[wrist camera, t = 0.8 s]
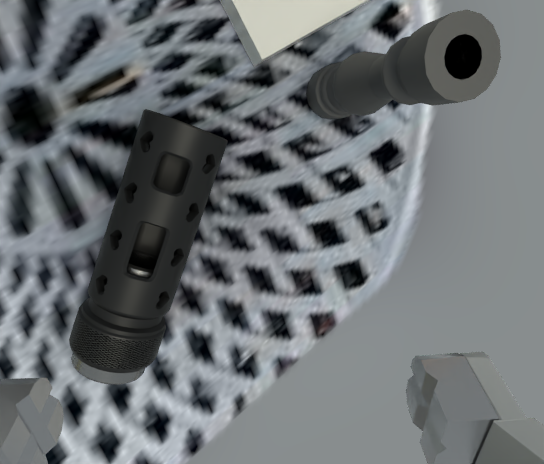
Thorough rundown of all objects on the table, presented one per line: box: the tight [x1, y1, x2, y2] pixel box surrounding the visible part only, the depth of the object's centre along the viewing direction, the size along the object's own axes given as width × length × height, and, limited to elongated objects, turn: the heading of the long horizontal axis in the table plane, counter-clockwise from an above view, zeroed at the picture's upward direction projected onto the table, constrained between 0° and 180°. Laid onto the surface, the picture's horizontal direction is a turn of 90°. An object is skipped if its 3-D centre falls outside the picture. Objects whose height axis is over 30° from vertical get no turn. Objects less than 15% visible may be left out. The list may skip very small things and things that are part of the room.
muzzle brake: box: [69, 109, 227, 384], centre depth 45 cm, size 10×28×10 cm, turn 159°
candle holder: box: [306, 10, 501, 119], centre depth 39 cm, size 6×6×25 cm
